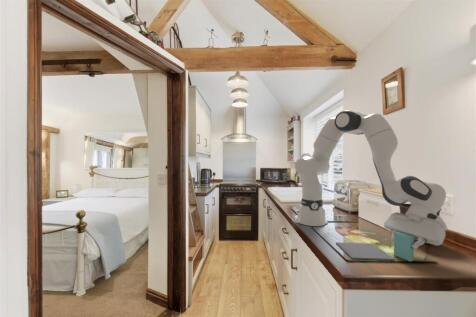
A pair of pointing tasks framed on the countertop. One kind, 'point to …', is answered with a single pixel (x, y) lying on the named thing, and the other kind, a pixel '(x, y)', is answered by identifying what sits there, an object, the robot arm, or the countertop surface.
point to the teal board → (403, 246)
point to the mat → (364, 251)
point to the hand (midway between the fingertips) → (402, 244)
